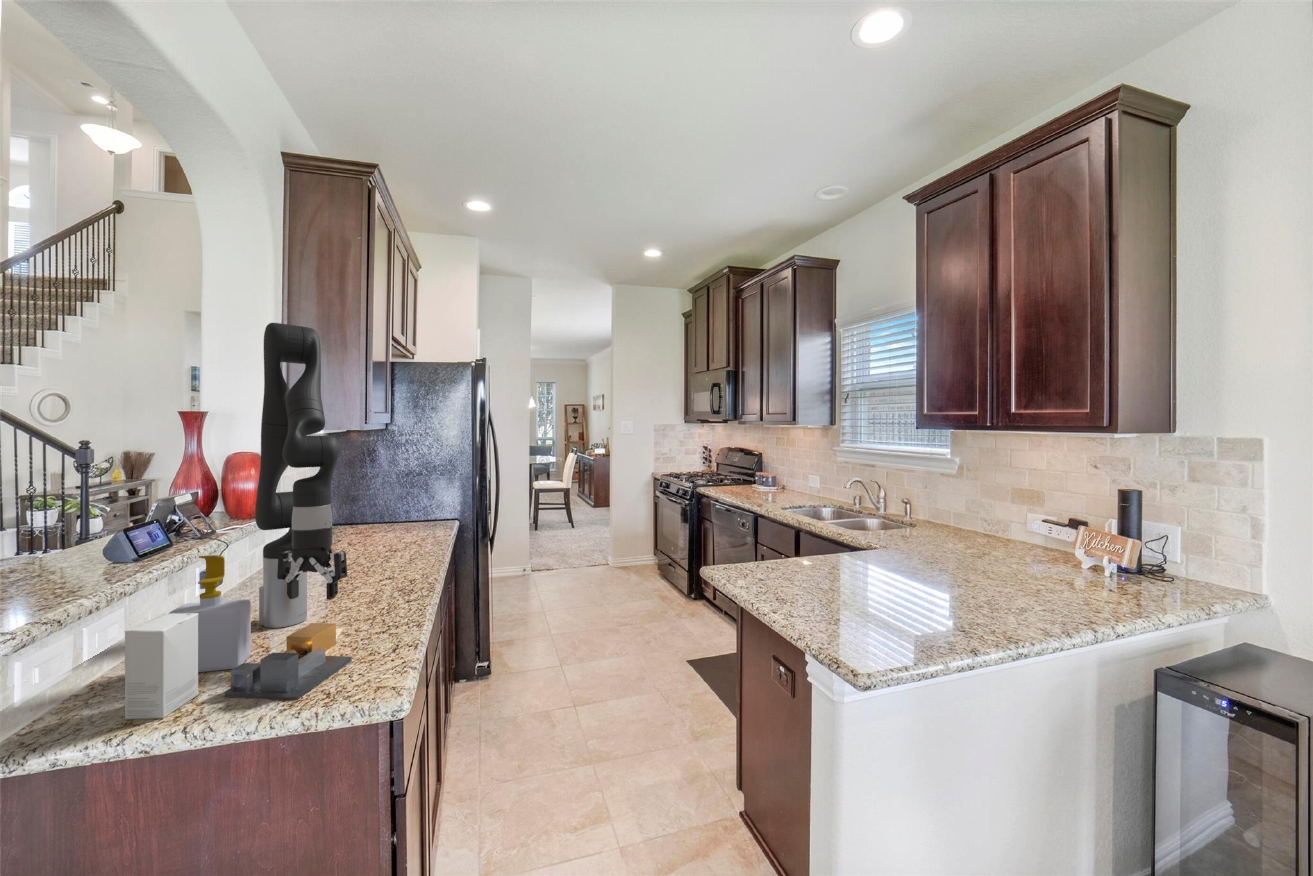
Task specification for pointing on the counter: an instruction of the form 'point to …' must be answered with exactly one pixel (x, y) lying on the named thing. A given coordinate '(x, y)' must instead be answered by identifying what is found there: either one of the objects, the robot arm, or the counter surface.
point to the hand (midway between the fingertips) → (312, 598)
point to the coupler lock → (312, 638)
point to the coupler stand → (284, 675)
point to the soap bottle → (220, 622)
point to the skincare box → (161, 665)
